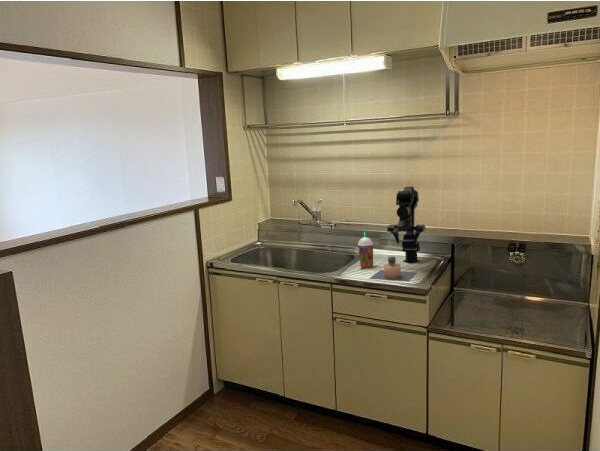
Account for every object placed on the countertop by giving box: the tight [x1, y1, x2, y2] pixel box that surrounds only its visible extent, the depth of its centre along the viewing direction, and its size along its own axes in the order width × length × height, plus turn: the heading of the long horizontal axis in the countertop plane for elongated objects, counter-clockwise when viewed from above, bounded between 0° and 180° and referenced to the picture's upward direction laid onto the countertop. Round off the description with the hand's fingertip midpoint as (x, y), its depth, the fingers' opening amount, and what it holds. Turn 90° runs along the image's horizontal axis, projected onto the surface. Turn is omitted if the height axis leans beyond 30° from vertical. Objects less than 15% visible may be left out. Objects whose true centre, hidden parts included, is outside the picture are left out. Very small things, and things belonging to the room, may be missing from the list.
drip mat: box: [368, 269, 419, 282], centre depth 225 cm, size 20×16×1 cm
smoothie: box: [357, 231, 374, 270], centre depth 244 cm, size 8×8×20 cm
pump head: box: [387, 256, 397, 264], centre depth 220 cm, size 6×4×4 cm, turn 151°
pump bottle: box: [383, 262, 402, 279], centre depth 222 cm, size 8×8×7 cm
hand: (406, 244), depth 236 cm, fingers open, 9 cm apart
